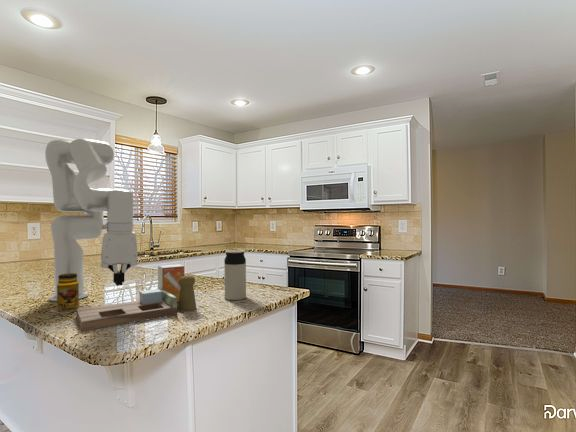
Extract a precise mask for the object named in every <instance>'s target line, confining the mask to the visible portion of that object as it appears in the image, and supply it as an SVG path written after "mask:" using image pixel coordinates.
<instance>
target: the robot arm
mask: <svg viewBox="0 0 576 432" xmlns="http://www.w3.org/2000/svg"><path fill="white" fill-rule="evenodd" d="M114 154H115V153H114V149H113V147H112V145H110V144H109V143H108V142H106V141H100V140H95V139H90V138H89V139H88V138H76V139H73V140H66V139H54V140H51V141H49V142H48V143H47V145H46V147H45V154H44V155H45V162H46V165H47V168H48V170H49V172H50V174H51V175H50V176H51V181H52V183H51V184H52V196H53V204H54V205H53V206H54V208H55V209H56V210H57V211H58V212H61V213H84V214H85V215H82V214H80V215H79V214H76V215H75V214H70V215H69V214H67V215H65V214H64V215H60V216H57V217H54V219H53V220H52V221H51V223H50V231H51V236H52V241H53V251H54V252H53V253H54V254H53V258H54V259H53V261H54V265H53V266H54V267H53V268H54V273H53V274H54V294H52V295H50V296H49V300H50V301H52V302H57V284H58V283H59V282H58V280H59V278H58V276H59V275H62V274H70V273H74V274H77V282H78V286H79V300H81V299H85V298H86V297H88V296H89V292H88V291H84V289H85V288H84V287H85V286H84V284H85V281H84V280H85V279H84V277H85V276H84V274H85V273H84V271H85V270H84V250H83V248H82V246H81V245H80V244H79V243H78V241H80V240H93V239H99V237H101V236H102V234H103V230H105V231H106V232H104V234H103V237H102V245H101V254H100V255H101V257H100V258H101V262H100V268H103V269H108V270H110V271H111V272H113V277H112V278H113V284H115V285H116V286H117V287H118V286H123V283H124V282H125V273H126V272H127V271H128V269H129V268H132V267H135V266H137V265H138V262H137V261H138V241H137V240H138V239H137V233H136V232H134V230H133V229H134V223H133V222H134V192H133V191H131V190H130V189H129V190H128V189H114V188H99V187H90V186H89V185H88V184H92V183H95V182H97V181H100V180H101V179H103V178H104V177H105V176H106V174H107V171H108V169H107V165H110V164H112V162H113V160H114V157H115V155H114ZM69 164H71V165H76V168H77V170H78V173H76V171H75V170H74V169H73V168H72V167H71V166H69ZM103 212H106V214H107V215H106V223H105V224H104V223H103ZM118 265H121V266H120V269H119V270H118Z"/></svg>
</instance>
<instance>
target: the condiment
mask: <svg viewBox="0 0 576 432" xmlns="http://www.w3.org/2000/svg"><path fill="white" fill-rule="evenodd" d="M58 278H59V280H58V282H59V283H58V284H57V301H56V302H57V303H56V306H57V308H56V309H55V308H54V309H51V310H47V312H49V313H50V312H51V313H57V314H63V315H64V314H69V313H73V312H77V309H82V308H86V307H83V306H79V305H80V304H79V301H80V299H79V286H78V282H77V274H74V273H70V274H62V275H59V276H58Z"/></svg>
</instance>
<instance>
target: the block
mask: <svg viewBox="0 0 576 432" xmlns="http://www.w3.org/2000/svg"><path fill="white" fill-rule="evenodd" d="M139 301H140V302H141V303H142V304H143V305H144V304H151V303H158V302H162V291H161V290H159V289H158V288H154V289H153V288H152V289H145V290H140V291H139Z"/></svg>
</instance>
